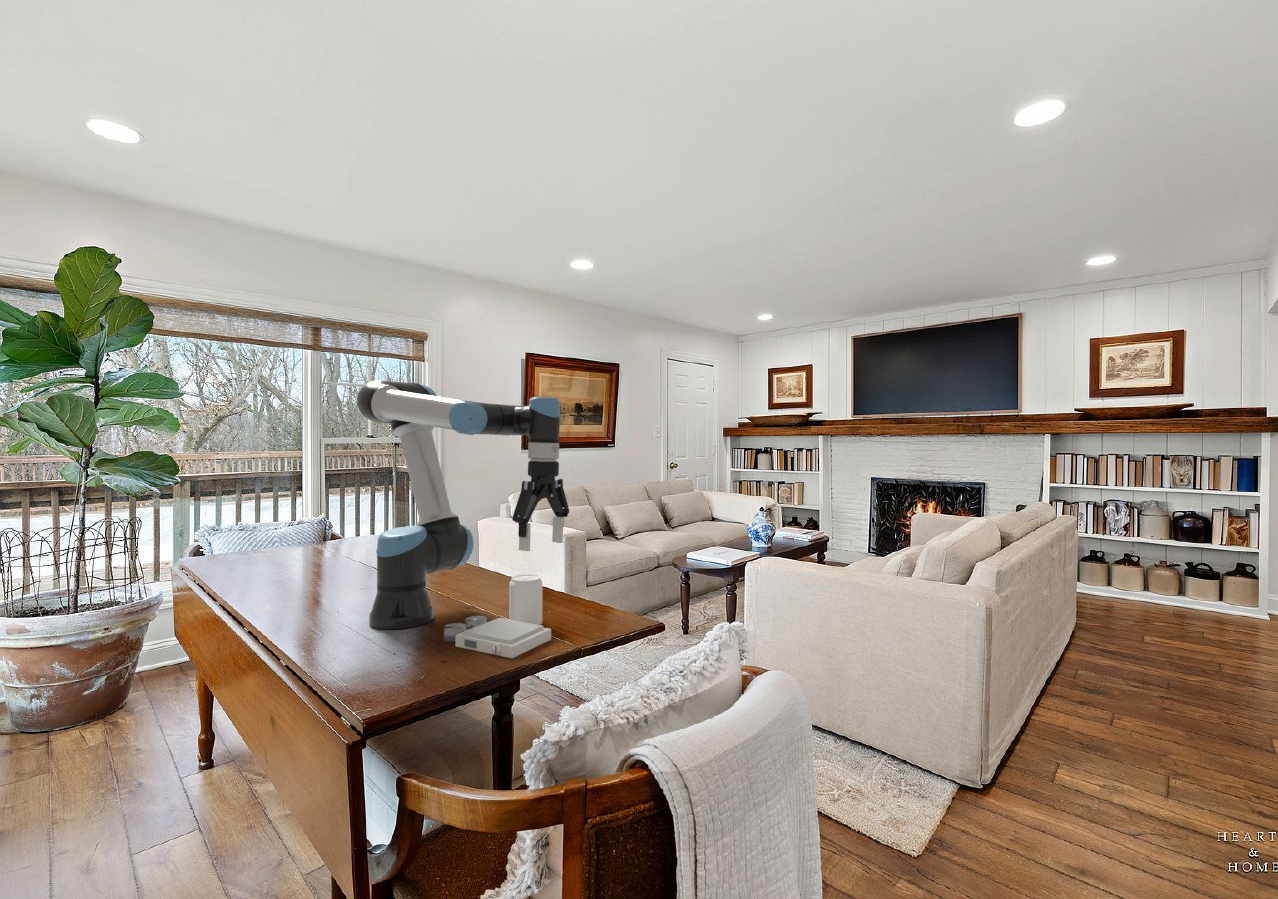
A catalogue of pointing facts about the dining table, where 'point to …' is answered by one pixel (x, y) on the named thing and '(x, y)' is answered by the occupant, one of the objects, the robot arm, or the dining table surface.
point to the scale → (503, 637)
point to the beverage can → (525, 599)
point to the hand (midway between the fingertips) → (541, 546)
